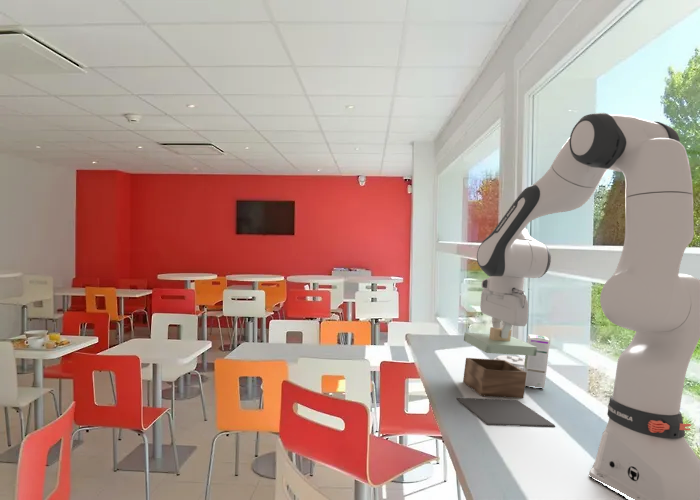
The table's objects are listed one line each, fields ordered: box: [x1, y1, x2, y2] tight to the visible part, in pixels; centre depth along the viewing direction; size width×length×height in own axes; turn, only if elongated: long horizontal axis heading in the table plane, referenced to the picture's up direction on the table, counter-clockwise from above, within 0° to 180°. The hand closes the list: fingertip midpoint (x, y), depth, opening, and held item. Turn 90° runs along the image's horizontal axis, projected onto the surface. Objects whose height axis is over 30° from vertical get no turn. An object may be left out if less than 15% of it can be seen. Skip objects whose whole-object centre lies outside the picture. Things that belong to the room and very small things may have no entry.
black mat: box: [456, 397, 556, 428], centre depth 135 cm, size 17×17×1 cm
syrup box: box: [524, 333, 551, 389], centre depth 162 cm, size 6×6×14 cm
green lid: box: [463, 326, 537, 356], centre depth 152 cm, size 14×14×5 cm
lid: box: [493, 354, 525, 371], centre depth 175 cm, size 13×13×5 cm
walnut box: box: [462, 357, 527, 399], centre depth 153 cm, size 12×12×7 cm
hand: (500, 336), depth 152 cm, fingers closed on green lid, 2 cm apart
